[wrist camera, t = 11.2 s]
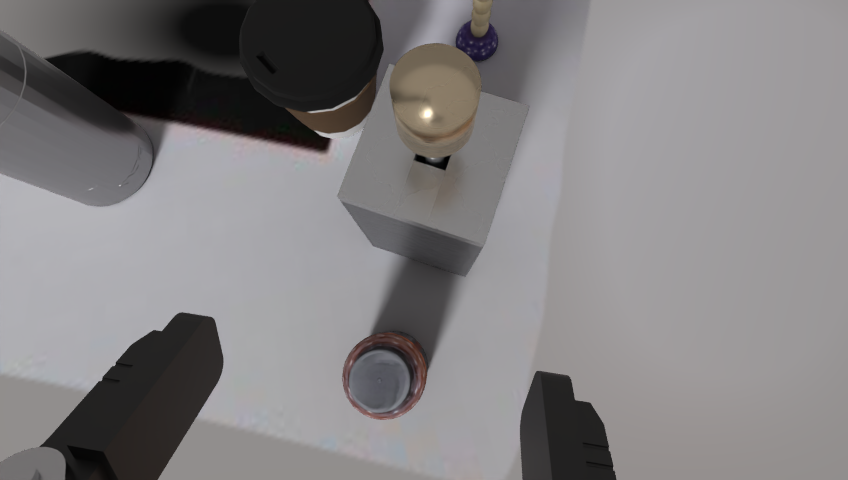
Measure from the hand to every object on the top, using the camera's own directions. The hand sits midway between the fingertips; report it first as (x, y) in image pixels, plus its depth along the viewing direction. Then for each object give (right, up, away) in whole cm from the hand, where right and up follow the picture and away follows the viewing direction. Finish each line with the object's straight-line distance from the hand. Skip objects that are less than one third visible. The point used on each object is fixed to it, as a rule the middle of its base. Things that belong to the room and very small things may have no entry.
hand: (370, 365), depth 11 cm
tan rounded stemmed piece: (+2, +6, +26) cm, 27 cm away
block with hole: (+2, +5, +31) cm, 32 cm away
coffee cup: (-7, +16, +34) cm, 38 cm away
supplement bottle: (-1, -8, +29) cm, 30 cm away
